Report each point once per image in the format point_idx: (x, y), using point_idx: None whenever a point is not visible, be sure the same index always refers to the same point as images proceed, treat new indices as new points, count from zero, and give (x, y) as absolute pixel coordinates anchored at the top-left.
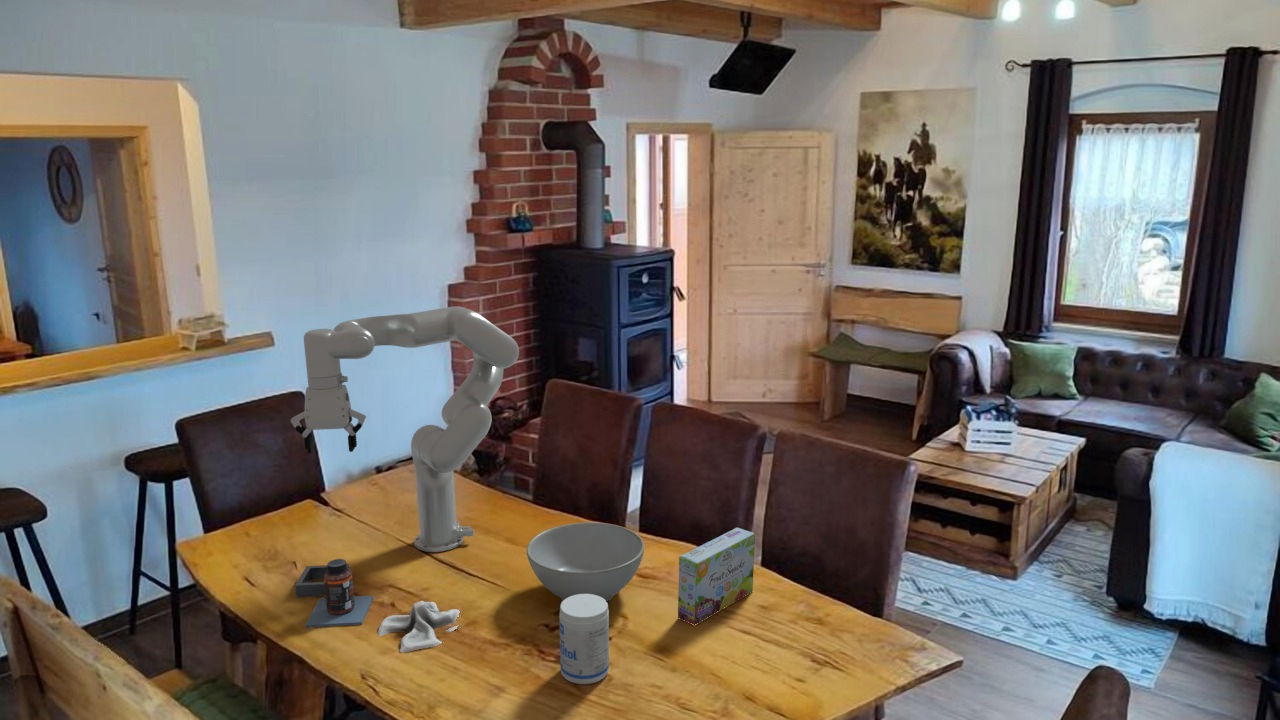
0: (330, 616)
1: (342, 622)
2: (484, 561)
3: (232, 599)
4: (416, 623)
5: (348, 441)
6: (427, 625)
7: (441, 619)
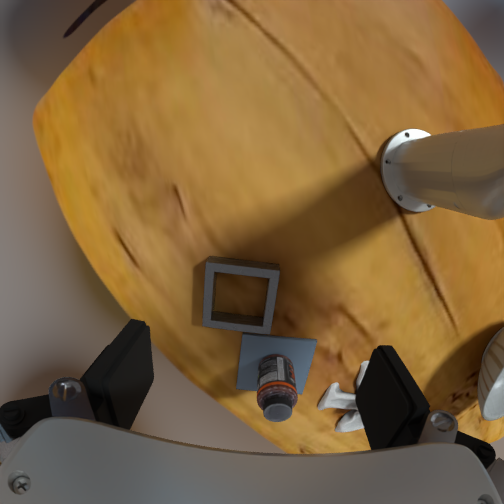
0: None
1: None
2: (459, 258)
3: (123, 299)
4: (358, 412)
5: (369, 438)
6: None
7: None
